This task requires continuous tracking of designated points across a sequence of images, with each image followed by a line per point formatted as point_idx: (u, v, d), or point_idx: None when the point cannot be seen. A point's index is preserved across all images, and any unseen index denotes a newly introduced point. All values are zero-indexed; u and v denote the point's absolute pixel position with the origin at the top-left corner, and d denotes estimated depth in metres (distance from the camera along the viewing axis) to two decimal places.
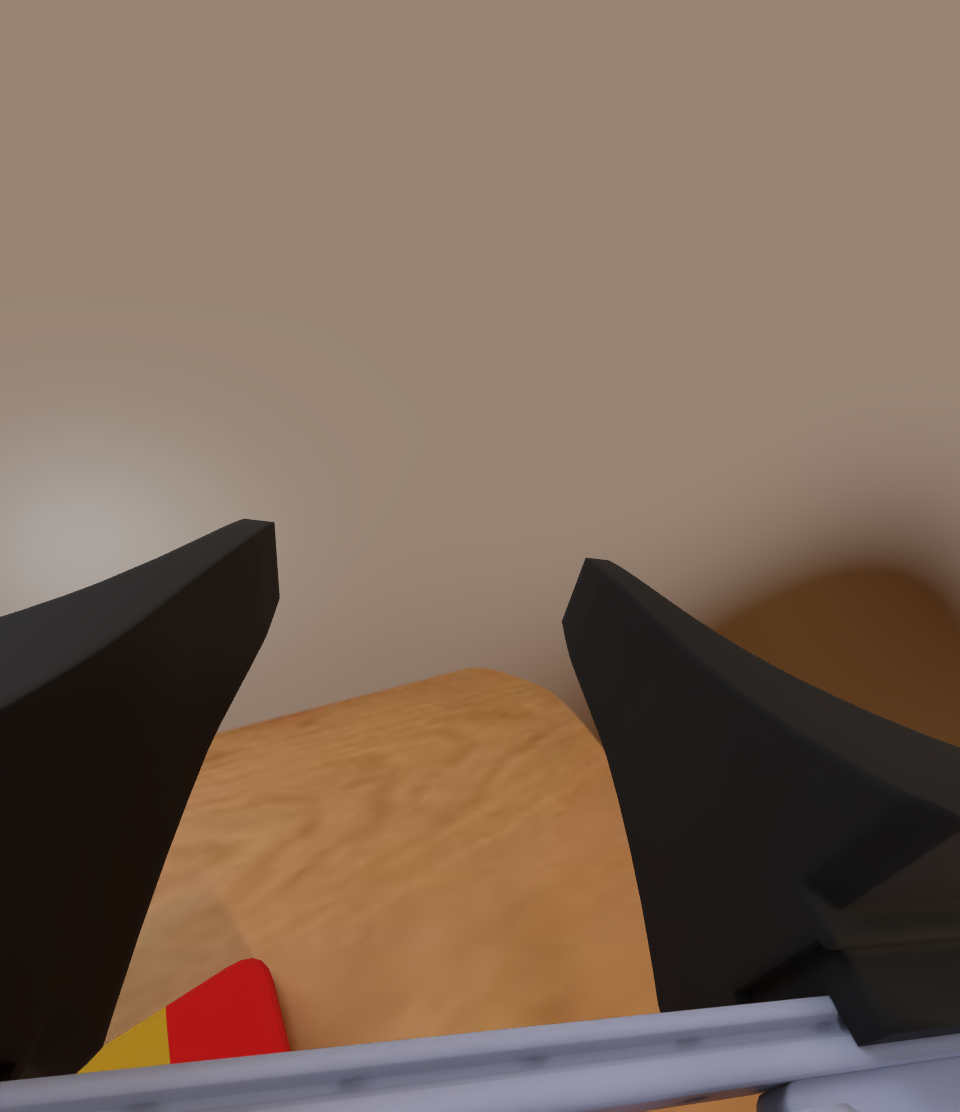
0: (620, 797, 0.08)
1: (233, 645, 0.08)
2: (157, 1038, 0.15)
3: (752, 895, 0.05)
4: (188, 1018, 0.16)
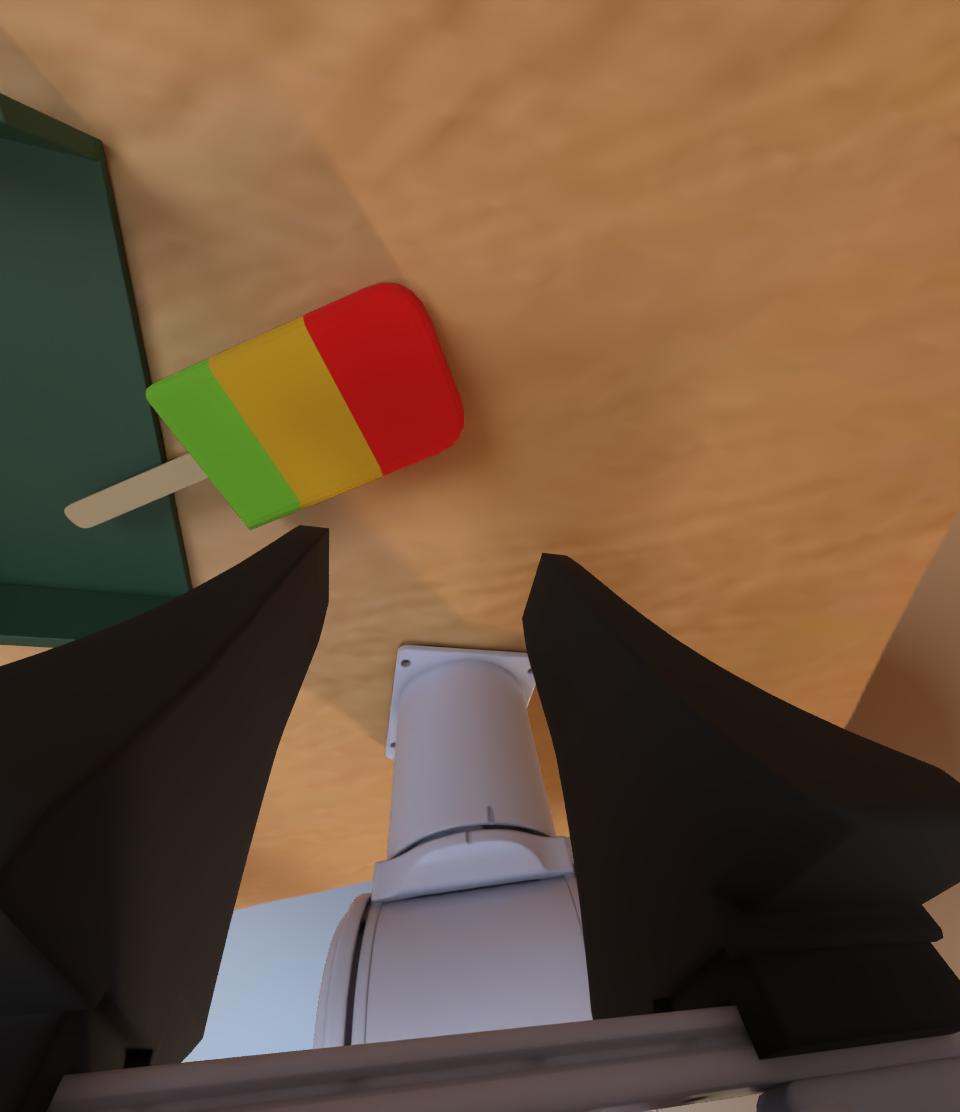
0: (565, 797, 0.08)
1: (297, 649, 0.08)
2: (309, 354, 0.13)
3: (670, 899, 0.05)
4: (337, 342, 0.13)
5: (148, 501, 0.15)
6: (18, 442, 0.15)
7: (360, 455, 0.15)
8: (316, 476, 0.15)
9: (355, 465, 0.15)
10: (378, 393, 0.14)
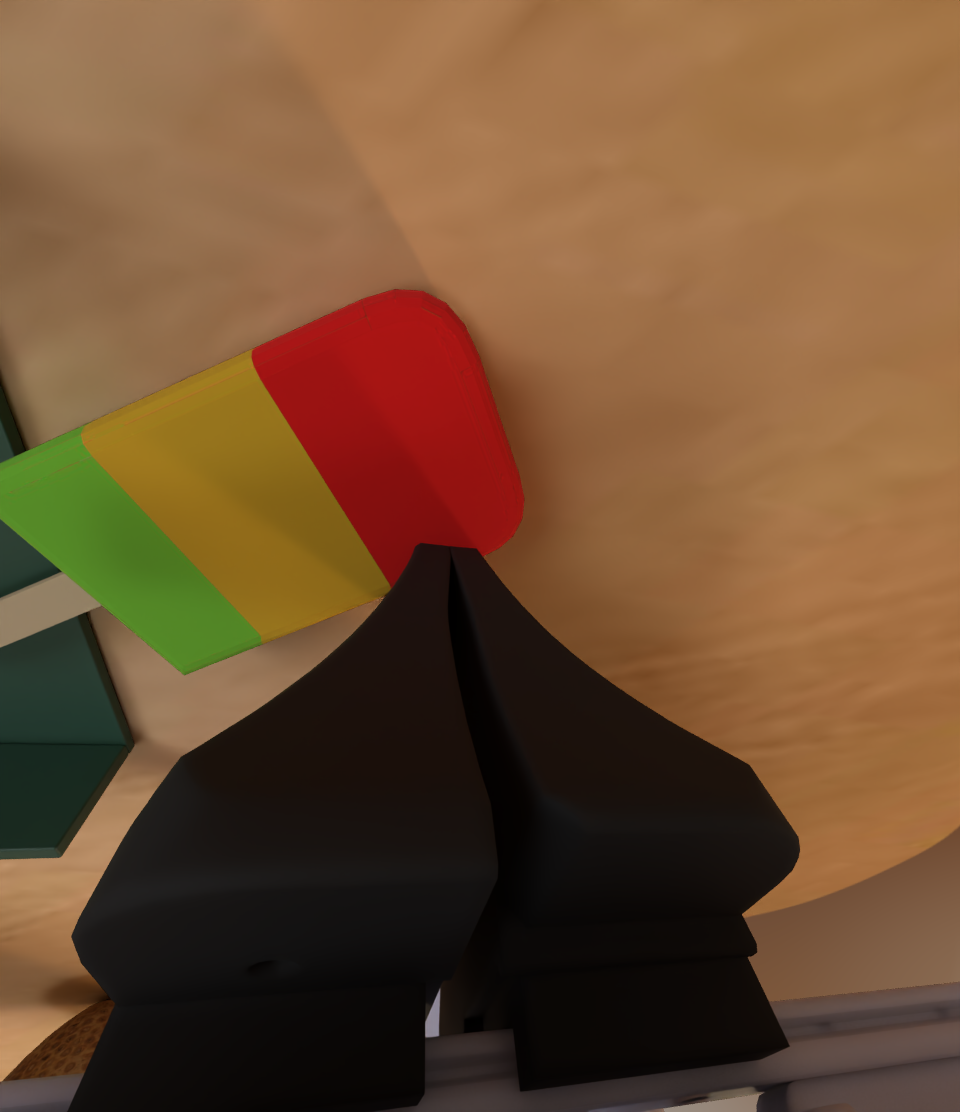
0: None
1: None
2: (264, 417, 0.07)
3: None
4: (314, 396, 0.07)
5: (18, 637, 0.10)
6: None
7: (357, 568, 0.09)
8: (286, 601, 0.09)
9: (349, 582, 0.09)
10: (387, 475, 0.08)
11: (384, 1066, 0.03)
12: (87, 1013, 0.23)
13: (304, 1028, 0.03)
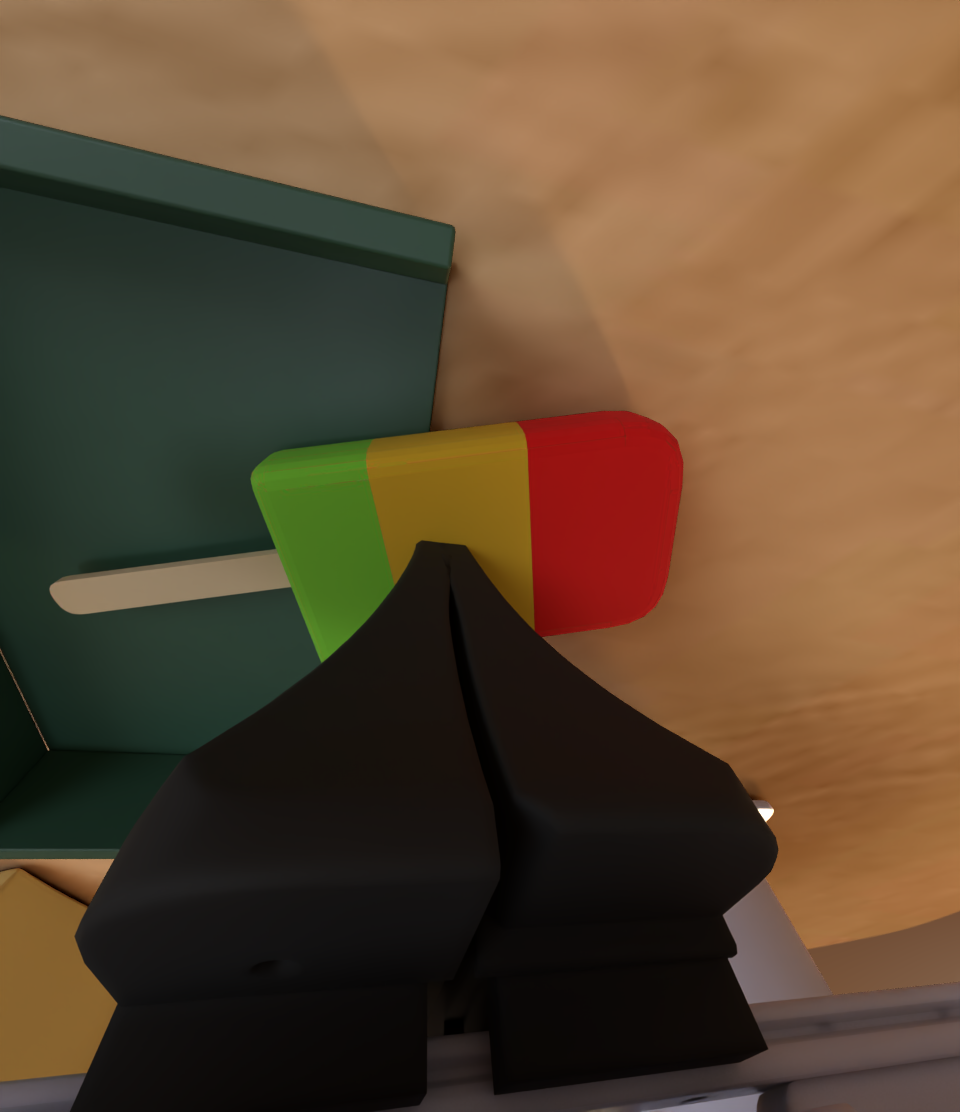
0: None
1: None
2: (514, 485, 0.09)
3: None
4: (559, 480, 0.09)
5: (186, 599, 0.10)
6: (241, 608, 0.12)
7: None
8: None
9: None
10: (578, 549, 0.10)
11: (386, 1064, 0.03)
12: None
13: (307, 1027, 0.03)
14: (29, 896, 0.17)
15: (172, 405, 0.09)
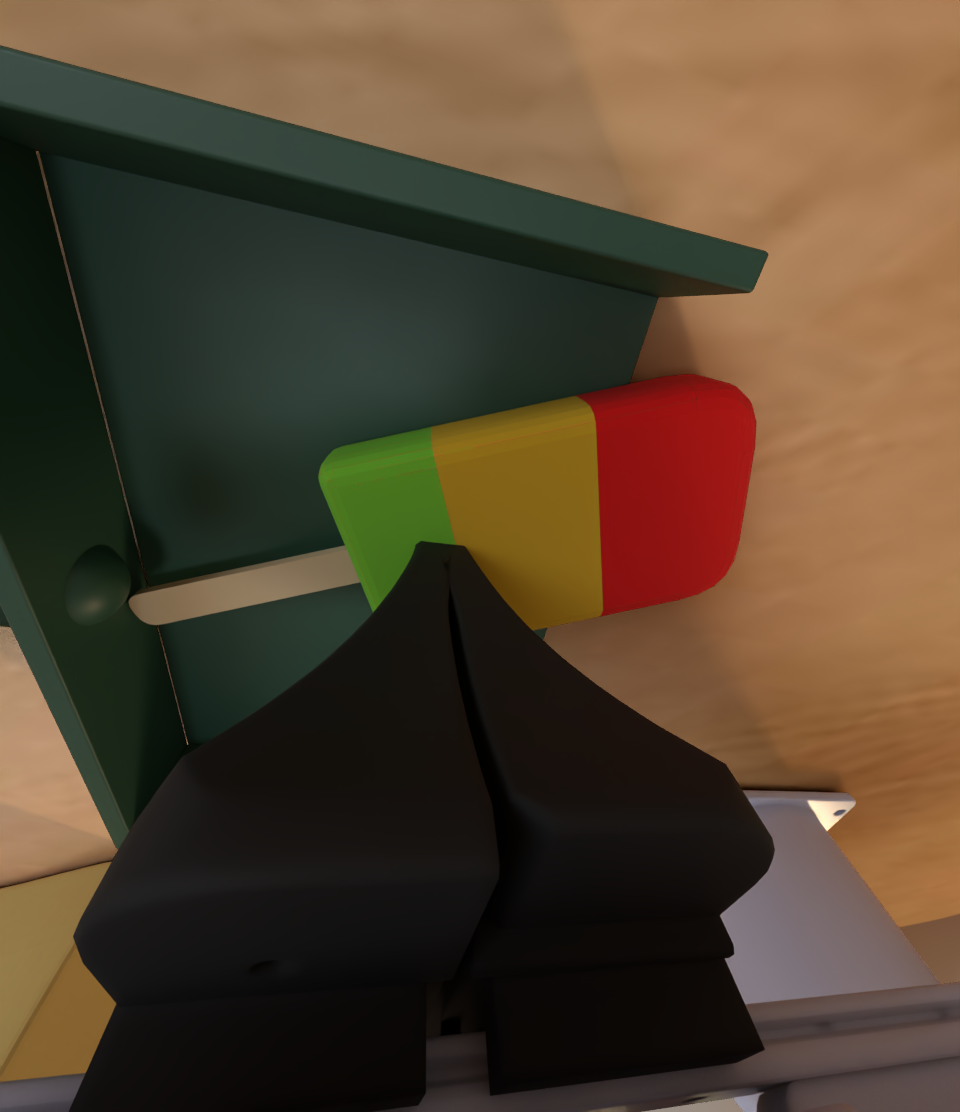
0: None
1: None
2: (583, 460, 0.09)
3: None
4: (628, 451, 0.09)
5: (257, 602, 0.11)
6: None
7: (585, 592, 0.10)
8: (516, 610, 0.10)
9: (573, 603, 0.10)
10: (648, 522, 0.09)
11: (384, 1066, 0.03)
12: None
13: (306, 1027, 0.03)
14: None
15: (376, 413, 0.09)
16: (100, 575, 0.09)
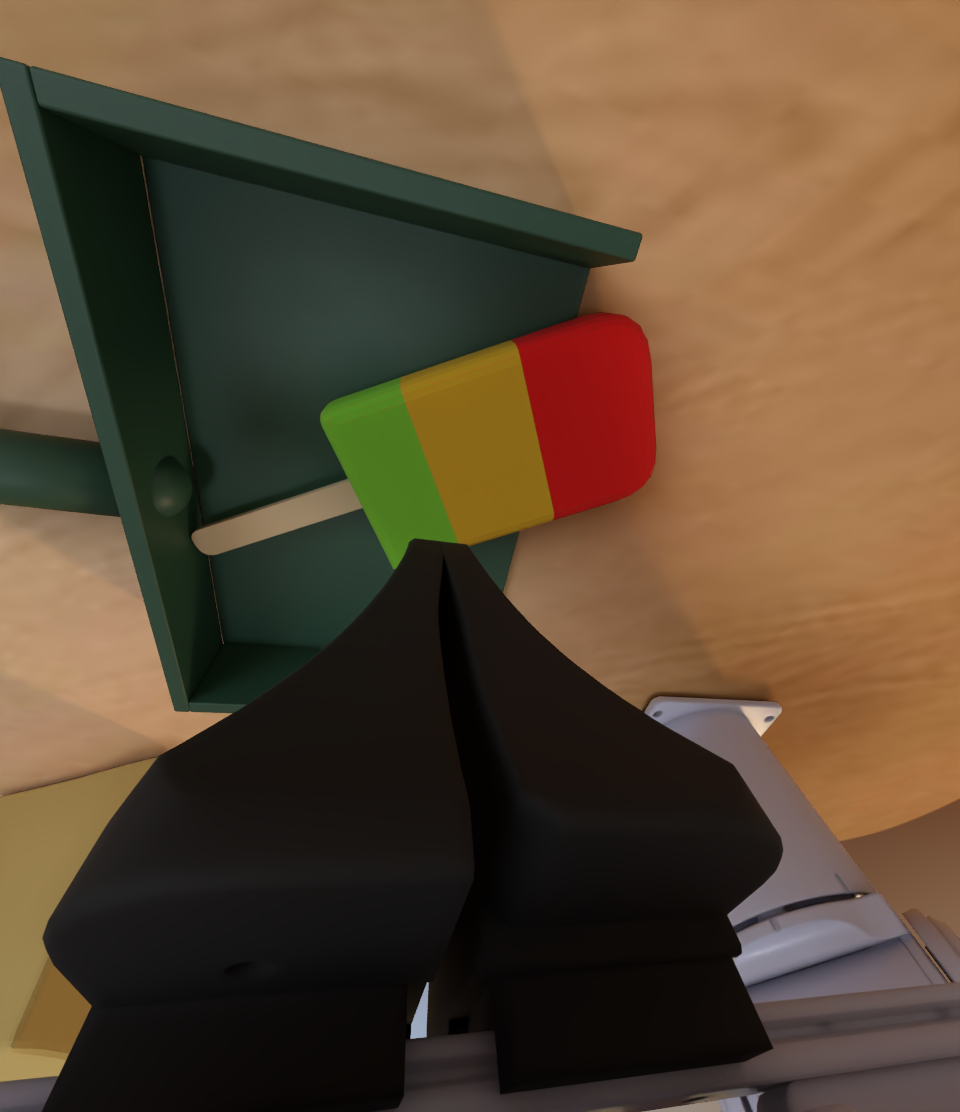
0: None
1: None
2: (515, 387, 0.11)
3: (464, 909, 0.04)
4: (549, 376, 0.11)
5: (286, 530, 0.14)
6: None
7: (537, 498, 0.13)
8: (483, 518, 0.13)
9: (529, 508, 0.13)
10: (576, 433, 0.12)
11: (364, 1068, 0.03)
12: None
13: (284, 1029, 0.03)
14: None
15: (379, 356, 0.12)
16: (174, 476, 0.12)
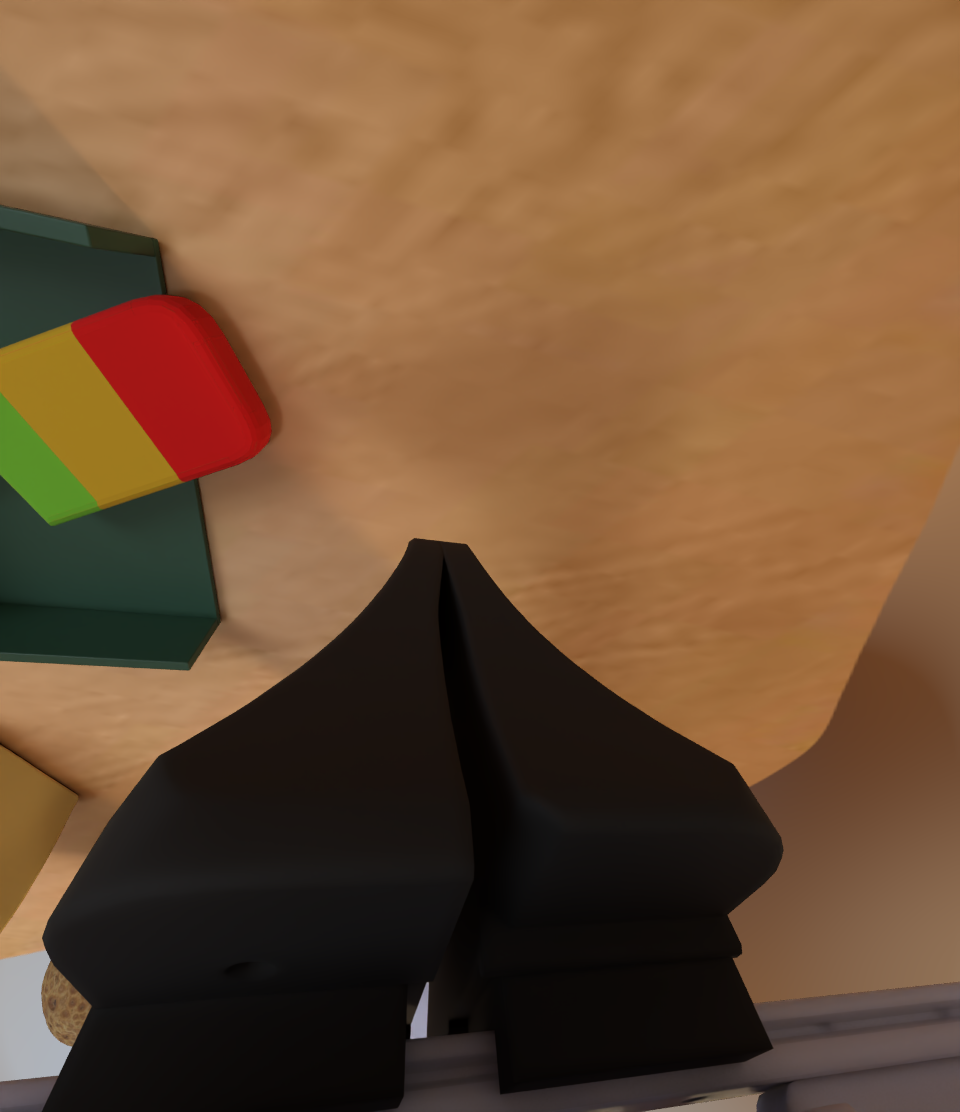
0: None
1: None
2: (80, 358, 0.13)
3: (464, 909, 0.04)
4: (108, 349, 0.13)
5: None
6: None
7: (153, 460, 0.15)
8: (110, 478, 0.15)
9: (149, 469, 0.15)
10: (160, 401, 0.14)
11: (364, 1068, 0.03)
12: None
13: (283, 1030, 0.03)
14: None
15: None
16: None
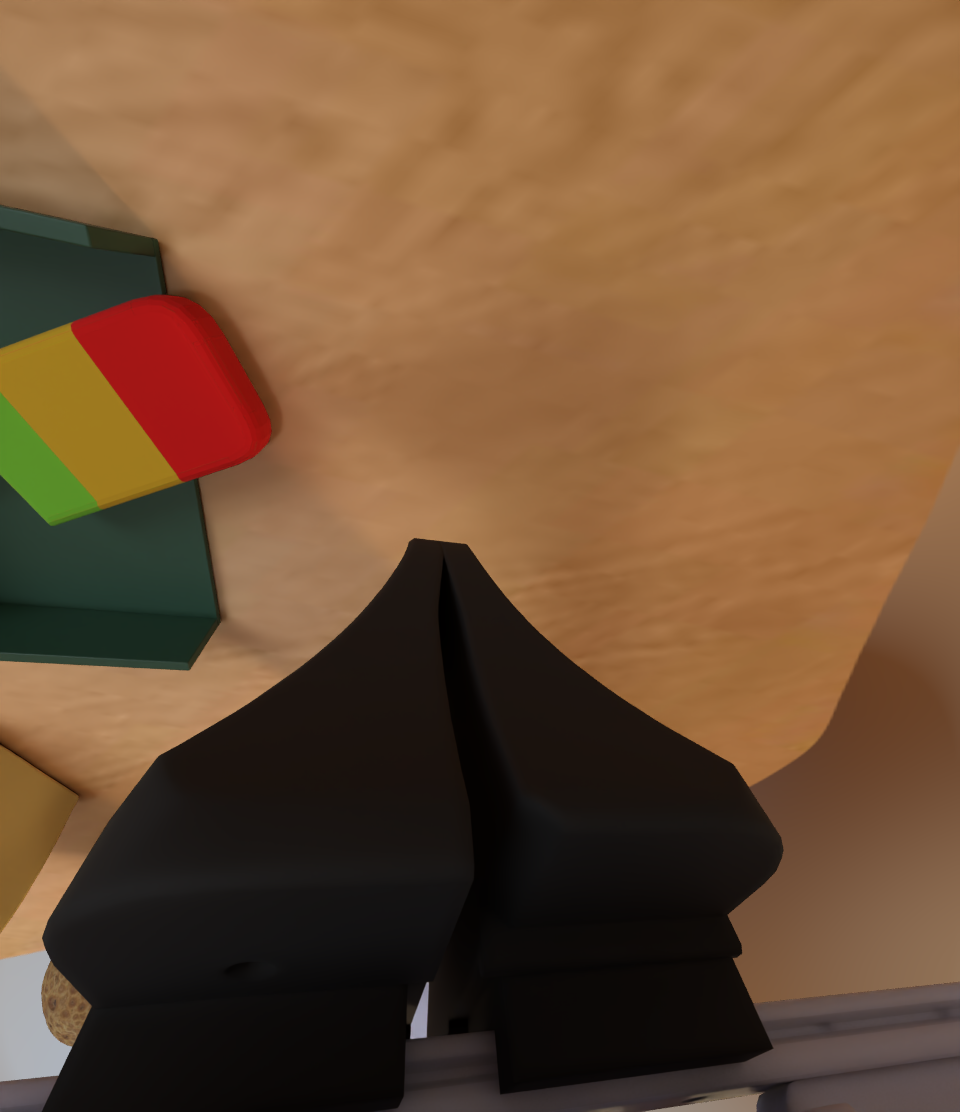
0: None
1: None
2: (80, 358, 0.13)
3: (464, 909, 0.04)
4: (108, 349, 0.13)
5: None
6: None
7: (152, 460, 0.15)
8: (110, 478, 0.15)
9: (149, 469, 0.15)
10: (160, 401, 0.14)
11: (364, 1068, 0.03)
12: None
13: (283, 1030, 0.03)
14: None
15: None
16: None
